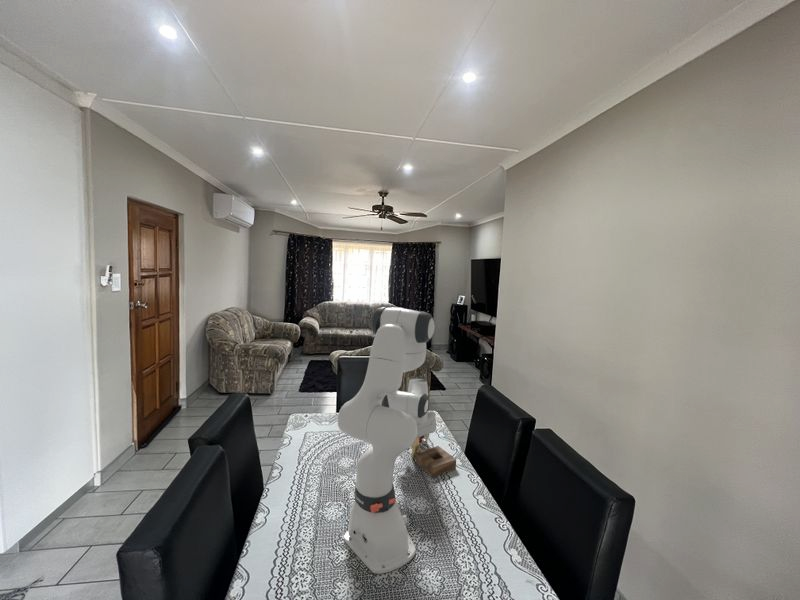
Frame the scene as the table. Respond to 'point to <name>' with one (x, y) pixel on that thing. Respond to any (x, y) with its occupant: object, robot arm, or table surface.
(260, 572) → the table surface
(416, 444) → the pin
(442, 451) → the socket block
